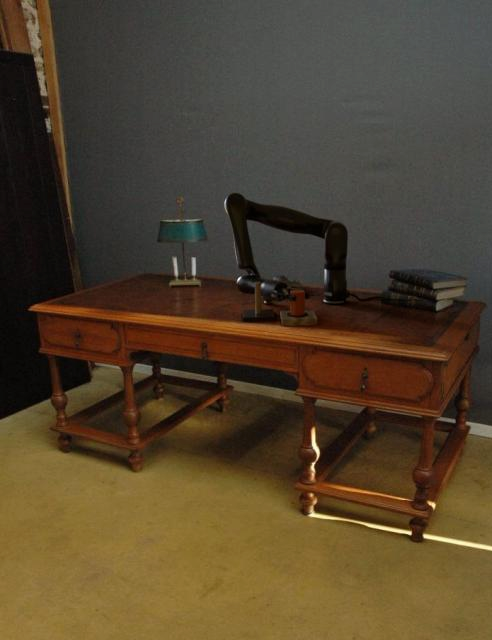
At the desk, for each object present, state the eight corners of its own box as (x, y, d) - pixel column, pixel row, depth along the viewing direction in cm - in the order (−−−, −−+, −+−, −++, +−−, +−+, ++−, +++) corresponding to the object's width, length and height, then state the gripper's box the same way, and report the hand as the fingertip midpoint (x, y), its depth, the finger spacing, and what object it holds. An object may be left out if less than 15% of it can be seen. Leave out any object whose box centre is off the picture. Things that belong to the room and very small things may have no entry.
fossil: (279, 277, 312) (297, 263, 300) (291, 297, 313) (309, 285, 300) (253, 289, 302) (270, 276, 290) (265, 310, 303) (282, 298, 290)
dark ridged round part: (275, 306, 274) (275, 287, 271) (258, 305, 276) (257, 287, 273) (278, 302, 281) (278, 283, 278) (261, 301, 282) (261, 283, 279)
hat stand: (272, 312, 264) (272, 279, 259) (274, 320, 253) (274, 285, 248) (243, 313, 264) (241, 280, 259) (243, 321, 253) (242, 286, 248)
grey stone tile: (313, 316, 258) (313, 310, 257) (317, 325, 246) (317, 318, 245) (280, 317, 258) (280, 311, 257) (282, 326, 245) (282, 319, 245)
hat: (306, 311, 255) (307, 288, 251) (309, 317, 247) (309, 293, 244) (286, 312, 254) (286, 289, 251) (287, 317, 247) (287, 293, 244)
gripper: (259, 282, 253) (287, 290, 241) (288, 278, 261) (316, 284, 249) (259, 302, 256) (287, 310, 244) (288, 296, 264) (316, 304, 252)
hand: (302, 297), depth 246 cm, fingers closed on hat, 5 cm apart
